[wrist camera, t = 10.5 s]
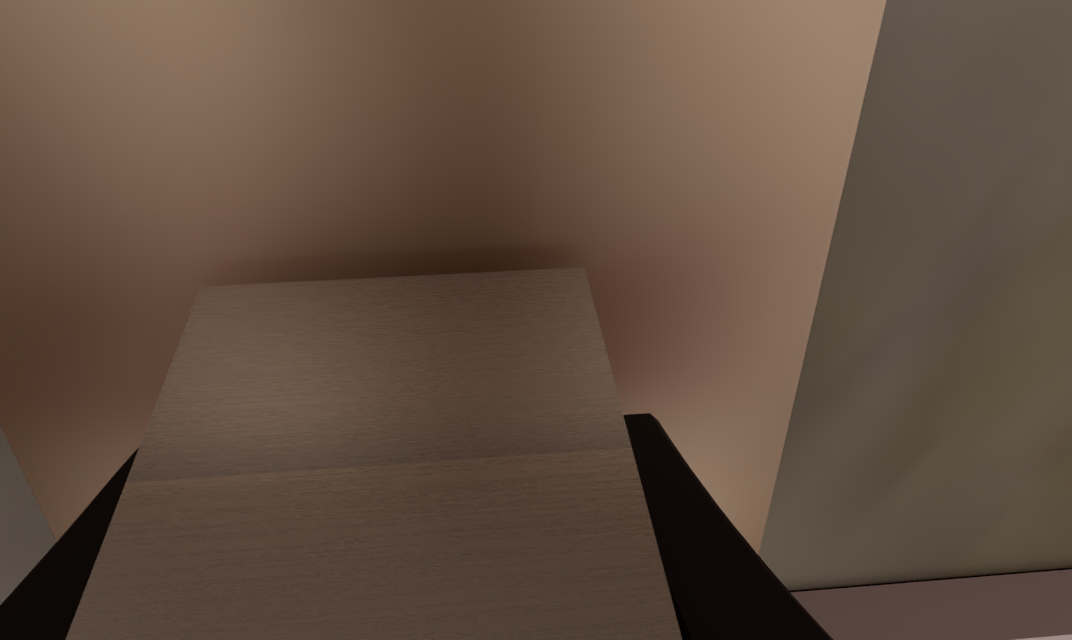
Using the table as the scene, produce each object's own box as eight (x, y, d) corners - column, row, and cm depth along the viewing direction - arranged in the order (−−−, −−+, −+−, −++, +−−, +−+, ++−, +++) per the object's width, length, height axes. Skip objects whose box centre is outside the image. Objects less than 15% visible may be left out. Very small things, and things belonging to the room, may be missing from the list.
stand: (134, 578, 16) (109, 651, 14) (-138, -74, 9) (-224, -42, 8) (725, 533, 17) (748, 599, 15) (844, -91, 10) (901, -63, 9)
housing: (270, 540, 12) (168, 1080, 8) (200, 286, 10) (-23, 868, 5) (573, 517, 13) (659, 1021, 8) (584, 267, 10) (723, 792, 5)
